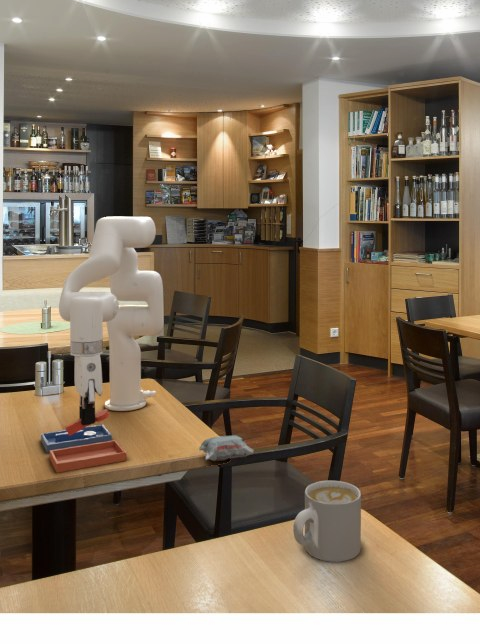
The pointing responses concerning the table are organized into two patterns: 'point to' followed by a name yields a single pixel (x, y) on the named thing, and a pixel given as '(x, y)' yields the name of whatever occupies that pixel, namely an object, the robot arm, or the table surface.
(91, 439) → the blue tray
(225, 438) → the packaged food
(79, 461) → the red tray
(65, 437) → the blue spoon
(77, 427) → the red spoon
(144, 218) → the robot arm
